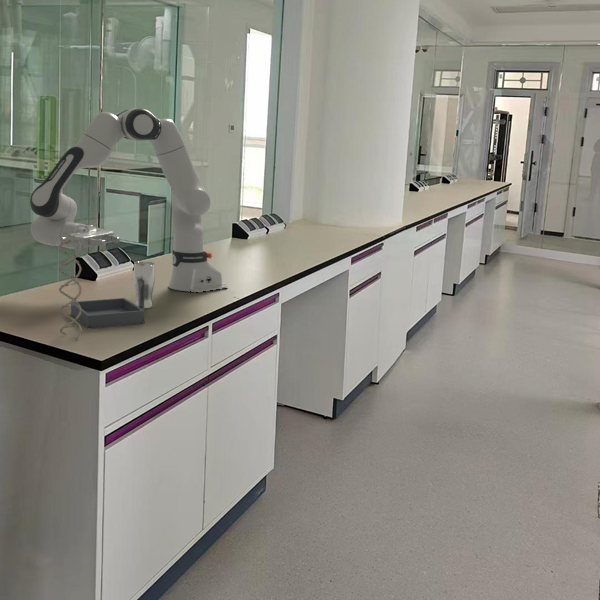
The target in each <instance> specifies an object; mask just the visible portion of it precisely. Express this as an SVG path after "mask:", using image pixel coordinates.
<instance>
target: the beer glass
mask: <svg viewBox="0 0 600 600" xmlns="http://www.w3.org/2000/svg"><path fill="white" fill-rule="evenodd" d="M133 265H134V267H133V284H134V290H135V302H134V304H135V305H136V306H138V307H140V308H141V309H143V310H147V309H146V308H150V309H152V308H151V307H153V308H154V302H153V293H154V286H155V281H156V270H155V269H156V268H155V265H156V264H155V262H153V261H147V260H146V261H136V262H134V264H133Z"/></svg>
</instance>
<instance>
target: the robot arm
mask: <svg viewBox="0 0 600 600" xmlns="http://www.w3.org/2000/svg"><path fill="white" fill-rule="evenodd" d="M122 139H127V140H131V141H134V142H135V141H136V142H137V141H138V142H139V141H149V142H150V144H151V145H152V147H153V150H154V153H155V155H156V158H157V160H158V163H159V165H160V168H161V170H162V173H163V175H164V177H165V178H166V180H167V183H168V184H169V186H170V188H171V192H170V200H171V213H172V222H173V249H172V254H171V255H172V256H171V264H172V269H171V275H170V280H169V283H168V288H169V289H172V290H175V291H179V292H180V291H182V292H190V291H191V292H192V293H196V292H198V293H204V292H203V291H206V292H211V291H210V290H213V291H216V290H215V289H220V290H222V289H221V288H226V287H228V284H227V283H226V282H224V281H223V278H222V277H223V275H222V273H221V271H220V269H218V268H217V267H216V266H215V265H213V264H212V263H211V262H209V261H208V259H212V258H213V254H212V252H207V251H205V250H204V243H205V242H204V240H205V239H204V237H205V231H204V226H203V220H202V216H203V215H205V214H206V213H207V212H208V210H209V209H210V206H211V199H210V195H209V194H208V193H207V191H206V189H205V186H204V184H203V182H202V180H201V178H200V176H199V173H198V172H197V171H196V168H195V166H194V164H193V162H192V159H191V156H190V153H189V152H188V151H189V150H188V149H187V146H186V143H185V141H184V138H183V135H182V134H181V132H180V129H178V127H177V125H176V123H175V122H174V121H173V120H172V119H171V118H170V119H169V118H157V117H156V116H155V115H154V114H153V113H152V112H151V111H149V110H148V109H145V108H142V107H141V108H139V107H133V108H130V109H126V110H123V111H122V112H119V113H118V114H116V115H115V114H114V113H111V112H109V111H102V112H99V113H98V114H96V116H95V117H94V118H93V119H92V121H90V123H89V124H88V126H87V127H86V129H85V130H84V132H83V133H82V136H81V137H80V139H79V140H78V141H77V142H76V144H75V145H73V146H72V147H70V148H69V149H67V151H65V153H64V154H63V155H62V157H61V158H60V159H59V160H58V162H57V163H56V165H55V166H54V167H53V169H52V170H51V171H50V173H49V174H48V175H47V177H46V178H45V179H44V180H43V182H42V183H40V184H39V185H38V186H36V188H34V190H33V191H32V193H31V195H30V197H29V198H30V199H29V204H30V205H29V206H30V208H31V211H33V213H34V214H35V215H38V217H36V218H35V219H33V220H32V222H31V223H30V233H31V236H32V238H33V239H34V240H35V241H36V242H38V243H41V244H43V245H47V246H48V245H49V246H53V247H59V245H60V244H61V243H62V242H63V241H65V240H67V239H69V238H70V236H68V235H67V234H65V232H66V233H68V234H70V235H71V236H73V235H75V237H74V238H75V239H77V240H78V241H79V243H80V244H81V249H85V248H89V247H94V246H97V247H104V246H106V244H109V243H120V242H121V237H120V236H115V232H114V231H112V230H109V229H105V228H100V227H94V225H93V224H82V223H79V222H75V220H76V217H77V214H78V211H79V210H78V209H79V208H78V204H77V202H76V201H75V199H73V198H71V197H69V196H68V195H67V194H64V193H62V191H63V189H64V188H65V186H66V185H67V184H68V182H69V181H70V179H71V178H72V177H73V175H74V174H76V172H77V171H79V170H81V169H82V170H83V169H94V168H100V167H102V166H103V165H104V164H105V163H106V162H107V161H108V160H109V158H110V156H111V154H112V153H113V152H114V149H115V147H116V146H117V144H118V143H119V141H121V140H122ZM71 241H75V240H74V239H73V238H72V239H70V240H69V241H67V242H69V243H66V244H63V245H62V246H61V247H63V248H66V249H72V250H78V251H79V245H78V243H77V242H72V243H70V242H71ZM191 292H190V293H191Z"/></svg>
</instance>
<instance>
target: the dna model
mask: <svg viewBox="0 0 600 600" xmlns="http://www.w3.org/2000/svg"><path fill="white" fill-rule="evenodd" d="M65 234H67V235H68V236H70V238H69V239H67V240H65V241H63V242H62V243H61V244H60V245H59V246H58V250H59V251H60V252H61V253H62V254H63V255H65V256H67V257H68V260H65V261H64V262H63V263H62V264H61V265H59V267H58V270H59V272H60V273H61V274H63V275H64V276H66V277H67V278H68V281H67V282H65V283H64V284H62V285H60V287H59V289H58V291H59V292H60V293H61V294H62V295H63V296H65V297H67V298H68V299H69V300H70V301H69V302H67V303H65V304H64V305H62V306H61V307H60V308H59V313H60V314H61V315H63V316H64V317H66V318H69V319H70V320H71V321H70V322H69V323H67V324H66V325H63V326H62V327H60V329H59V332H60V334H62V335H64V336H67V334H66V333H65V332H63V330H64V329H68V328H72V327H76V326H78V328H79V333H78V335H77V336H76V337H75V339H74V340H75V341H77V340H79V339H80V337H81V335H82V333H83V332H82V331H83V329H82V326H81V324H80V323H79V321H78V320H77V319H78V318H79V317H80V315H81V310H82V309H81V306H80V304H79V303H78V302H77V299H78V298H79V297H80V296H81V293H82V286H81V285H80V282H79V281H78V280H76V279H78V278H79V276H80V275H81V272H82V266H81V264H80V261H79V260H77V259H76V258H77V257H78V255H79V254H80V253H81V251H82V248H81V244H80V243H79V241H78V240H77V239H75V238H74V237H75V235H73V236H71V235H70V234H68V233H66V232H65ZM72 238H73V239H74V240H75V241H71V242H70V243H72V242H77V243H78V245H79V250H78V251H77V253H76V254H75V255H73V254H70V253H68V252H67V251H64V250H63V249H62V248H61V247H62V245H63V244H66V243H69V242H67V241H69V240H70V239H72ZM71 261H73V262H71ZM69 264H70V265H73V264H77V265H78V269H79V270H78V273H77V274H76V275H75V276H72V275H69V274H68V273H66V272H64V271H63V270H62V267H64V266H68V265H69ZM72 282H73V283H72ZM71 285H72V286H74V285H77V286H78V290H79V291H78V294H77V295H76V296H75V297H73V296H71V295H68V294H67V293H65V292H64V291H63V290H62V289H63V288H65V287H69V286H71ZM72 302H75V303H76V304H77V305H78V306H79V310H80V312H79V314H78V315H77V317H76V318H75V317H74V318H73V317H71V316H70V315H68V314H66V313H65V312H64V311H62V310H63V309H64V308H67V307H69V306H70V307H71V306H72V305H76V304H72V305H71V303H72ZM73 323H75V324H73ZM72 324H73V325H72Z"/></svg>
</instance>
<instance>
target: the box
mask: <svg viewBox="0 0 600 600" xmlns="http://www.w3.org/2000/svg"><path fill="white" fill-rule="evenodd" d="M76 301H77V300H76ZM77 302H78V303H79V304H80V306H81V309H82V310H81V315H80V317H79V318H78V319H77V320H76V321H77V322H80V323H81V325H83V326H86V327H85V328H87V329H88V328H91V329H98V328H97V327H101V328H107V327H106V326H111V327H119V325H121V326H128V325H127V324H131V325H137V324H136V323H141V324H144V323H145V309H141V308H140V307H138V306H136V305H135V303H134V302H131V300H129V299H127V298H126V297H119V298H116V297H115V298H106V299H93V300H80V301H79V300H78V301H77ZM72 304H76V303H75V302H74V301H73V302H72V303H71V304H70V314H71V316H73V317H74V319H75V318H76V317H77V315H78V314H79V312H80V310H79V306H78V305H77V304H76V305H72ZM71 305H72V306H71ZM143 322H144V323H143Z"/></svg>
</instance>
